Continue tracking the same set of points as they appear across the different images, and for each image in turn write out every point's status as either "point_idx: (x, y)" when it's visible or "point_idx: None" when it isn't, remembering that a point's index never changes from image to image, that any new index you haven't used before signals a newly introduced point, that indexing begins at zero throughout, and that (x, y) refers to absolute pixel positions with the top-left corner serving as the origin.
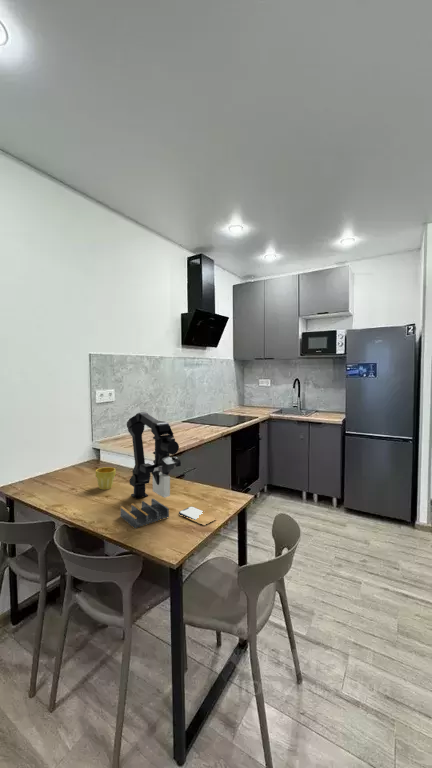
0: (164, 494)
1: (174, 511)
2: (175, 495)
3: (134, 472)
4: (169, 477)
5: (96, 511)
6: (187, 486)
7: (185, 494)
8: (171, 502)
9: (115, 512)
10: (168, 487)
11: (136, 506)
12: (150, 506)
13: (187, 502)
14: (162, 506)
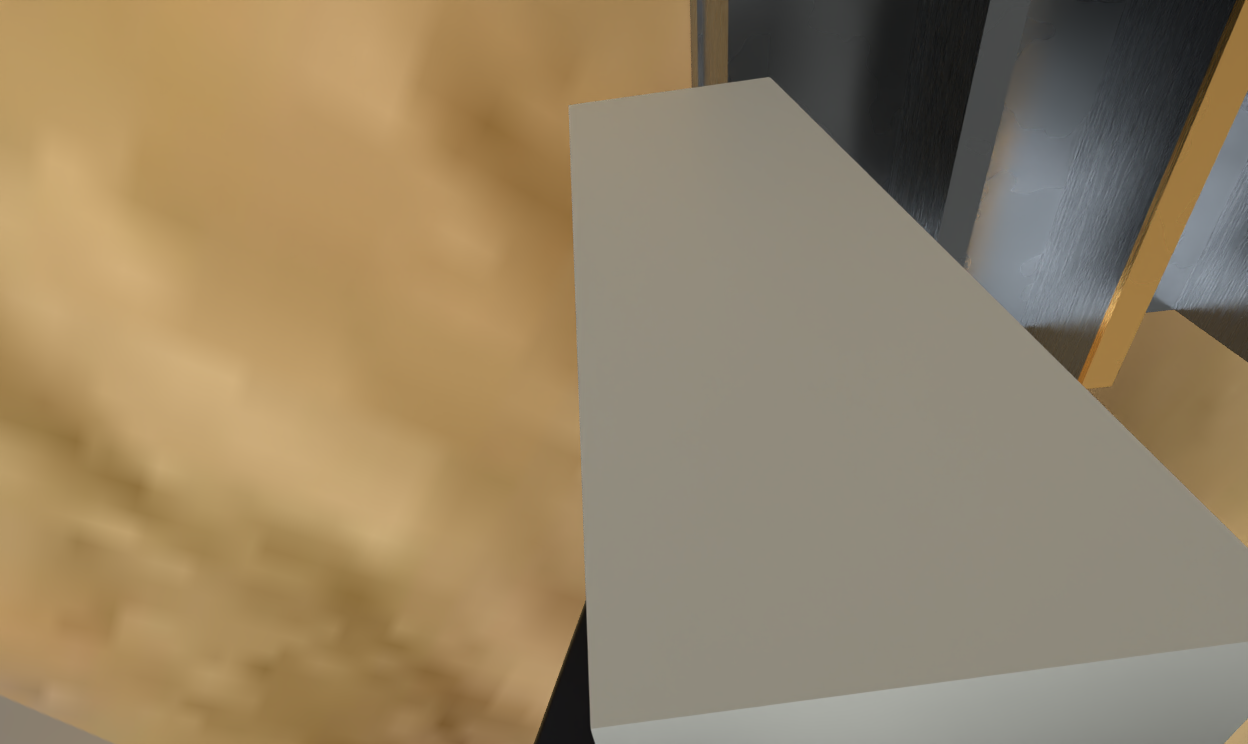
0: (787, 106)
1: (471, 3)
2: (282, 503)
3: None
4: (651, 609)
5: (1210, 502)
6: (62, 640)
7: (124, 478)
8: (403, 349)
9: (1122, 408)
10: (650, 212)
11: (1142, 265)
12: (968, 146)
13: (131, 230)
14: (768, 21)
